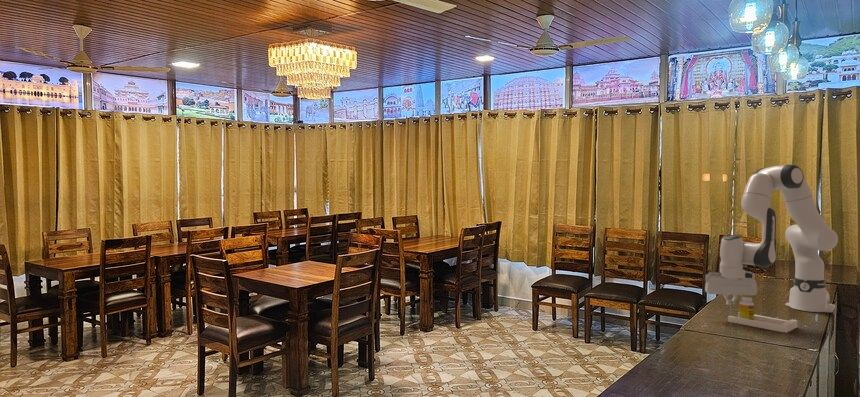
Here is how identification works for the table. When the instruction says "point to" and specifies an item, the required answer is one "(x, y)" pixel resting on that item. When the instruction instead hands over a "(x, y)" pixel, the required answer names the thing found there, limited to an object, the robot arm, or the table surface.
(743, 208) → the robot arm
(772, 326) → the u rest
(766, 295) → the table surface
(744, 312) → the supplement bottle
